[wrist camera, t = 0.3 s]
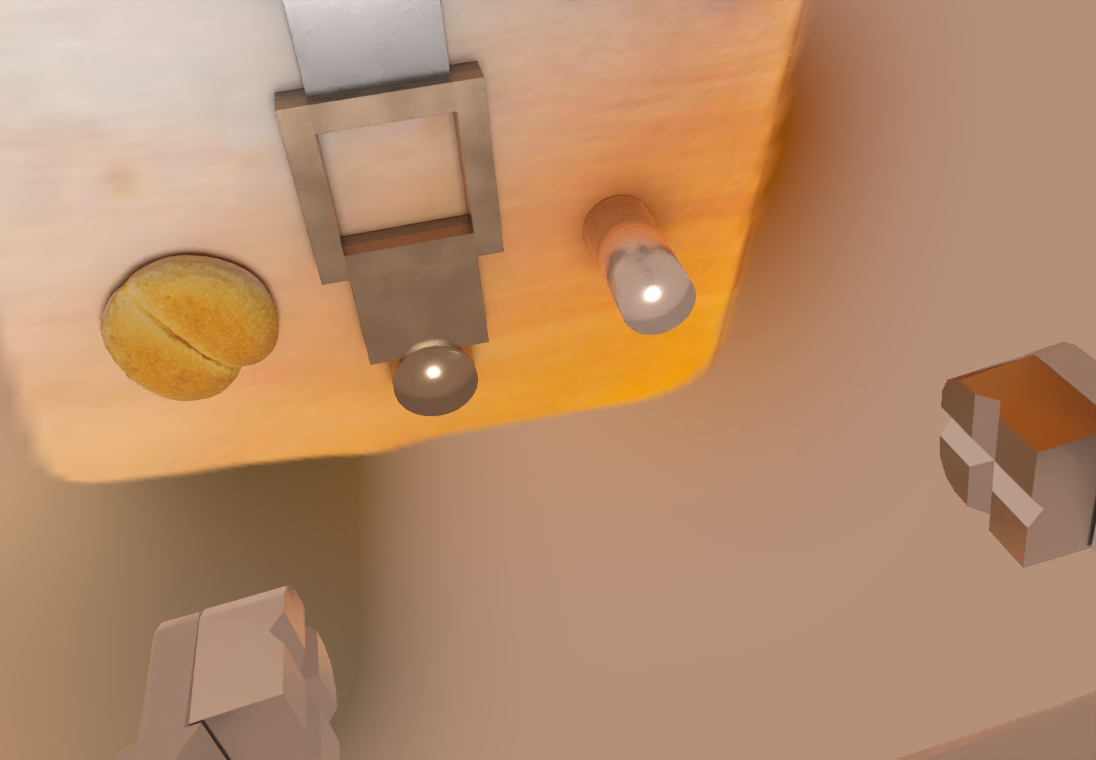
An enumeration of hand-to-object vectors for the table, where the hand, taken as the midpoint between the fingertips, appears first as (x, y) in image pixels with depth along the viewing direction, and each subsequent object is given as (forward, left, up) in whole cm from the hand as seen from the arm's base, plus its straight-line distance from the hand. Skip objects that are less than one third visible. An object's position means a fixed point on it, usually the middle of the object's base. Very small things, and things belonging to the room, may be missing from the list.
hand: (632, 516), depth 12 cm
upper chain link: (+20, -1, -39) cm, 44 cm away
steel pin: (+21, +11, -39) cm, 46 cm away
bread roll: (+22, -14, -40) cm, 47 cm away
